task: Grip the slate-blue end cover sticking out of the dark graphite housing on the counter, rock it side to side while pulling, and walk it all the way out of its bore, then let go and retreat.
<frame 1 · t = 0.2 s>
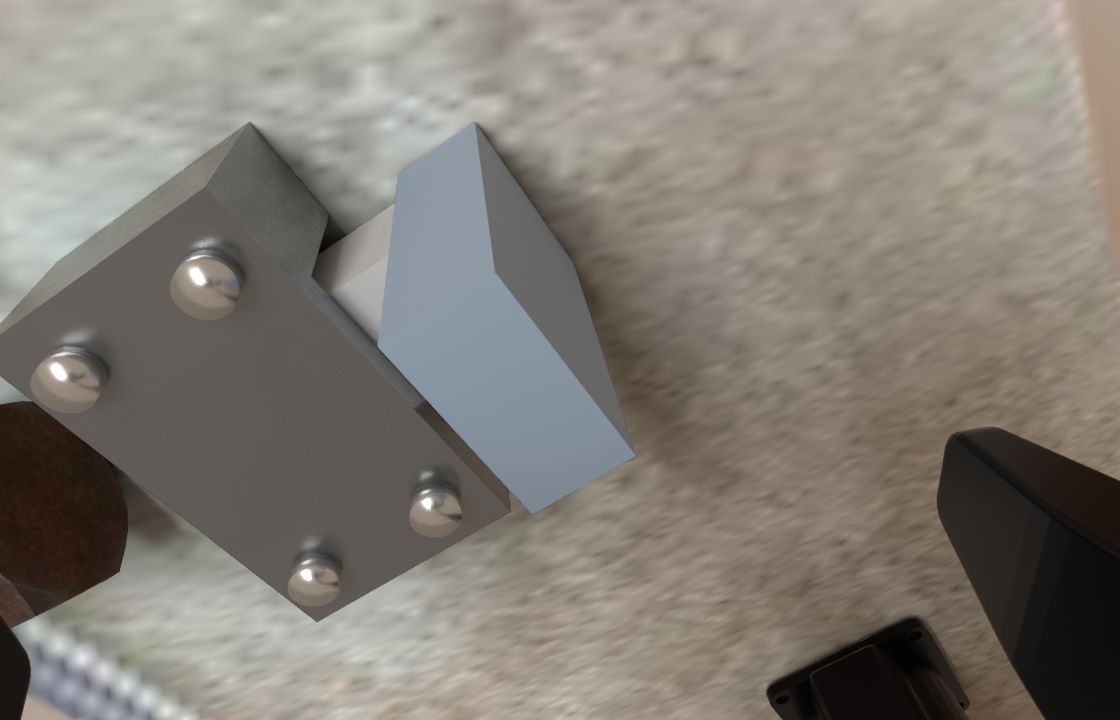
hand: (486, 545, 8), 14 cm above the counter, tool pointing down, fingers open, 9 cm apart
housing: (297, 344, 22), on the counter
cover: (368, 377, 18), point 4 cm above the counter, slide at 0.0 cm
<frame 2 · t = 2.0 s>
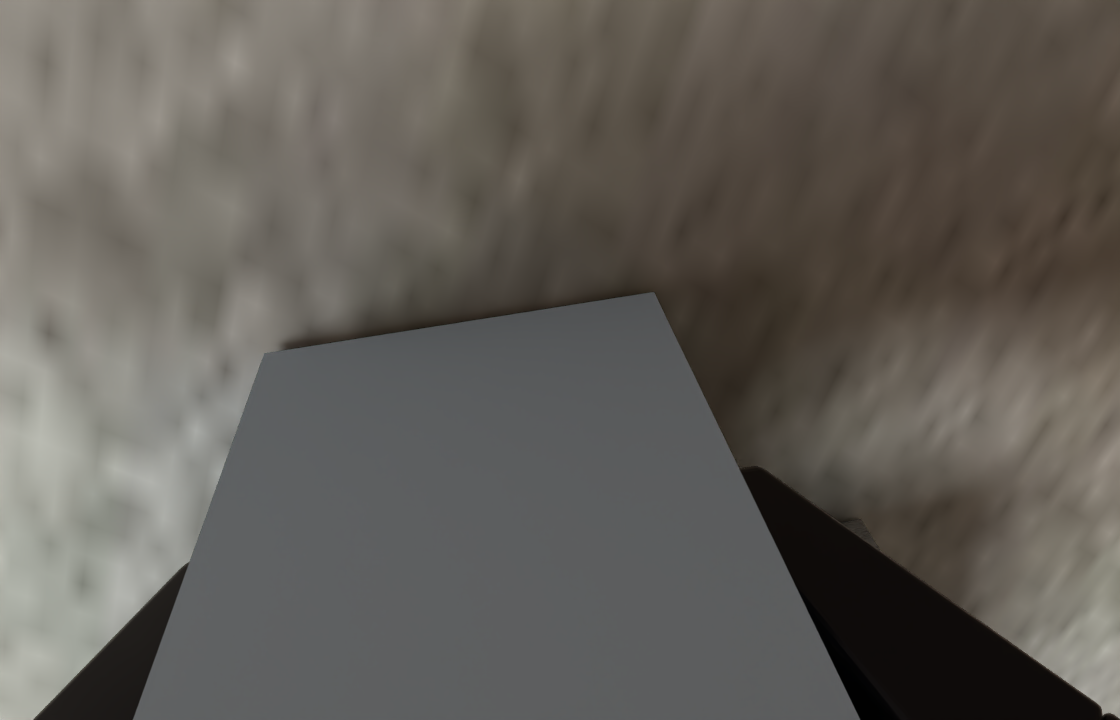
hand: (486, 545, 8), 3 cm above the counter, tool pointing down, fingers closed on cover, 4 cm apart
housing: (540, 710, 13), on the counter
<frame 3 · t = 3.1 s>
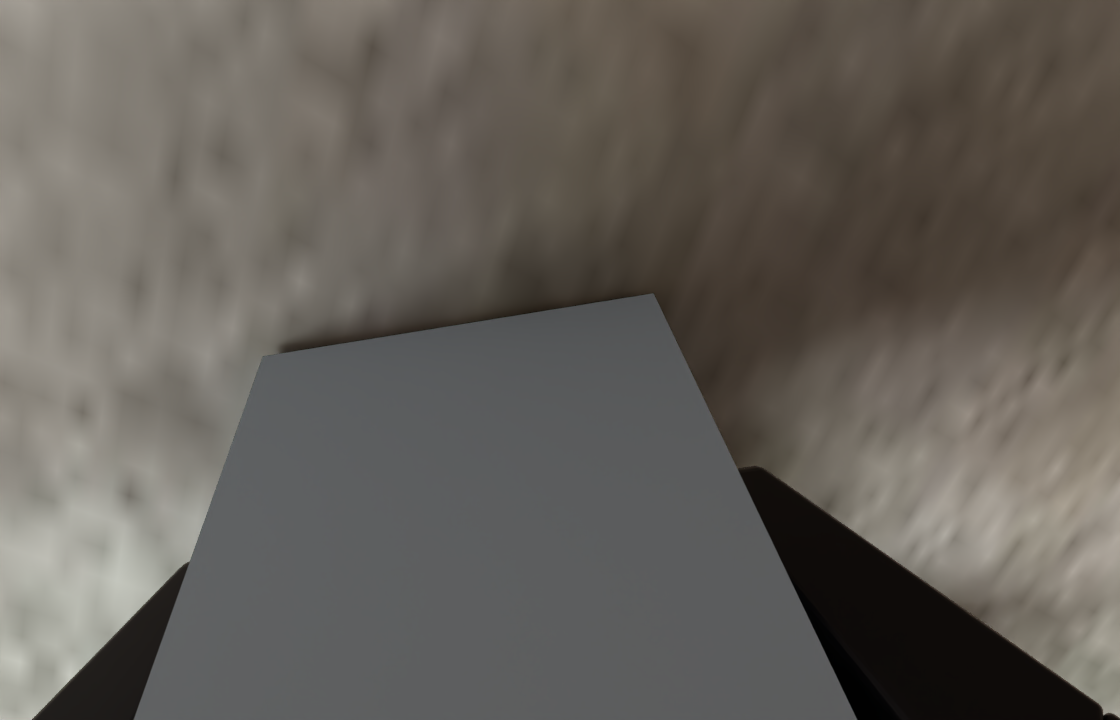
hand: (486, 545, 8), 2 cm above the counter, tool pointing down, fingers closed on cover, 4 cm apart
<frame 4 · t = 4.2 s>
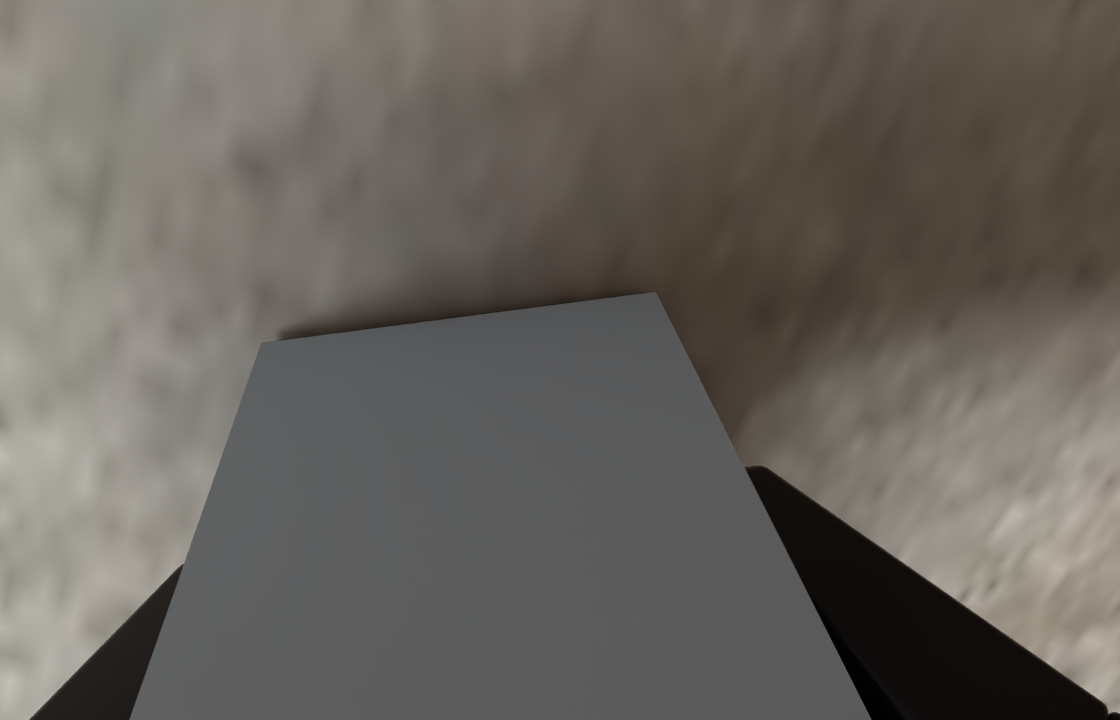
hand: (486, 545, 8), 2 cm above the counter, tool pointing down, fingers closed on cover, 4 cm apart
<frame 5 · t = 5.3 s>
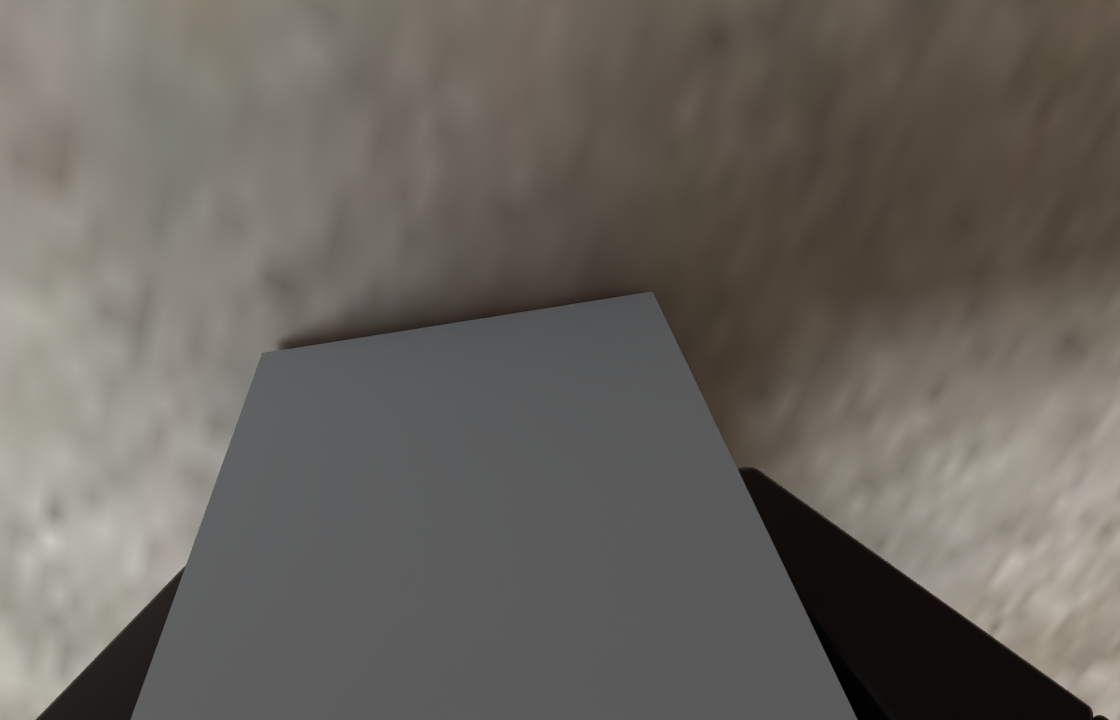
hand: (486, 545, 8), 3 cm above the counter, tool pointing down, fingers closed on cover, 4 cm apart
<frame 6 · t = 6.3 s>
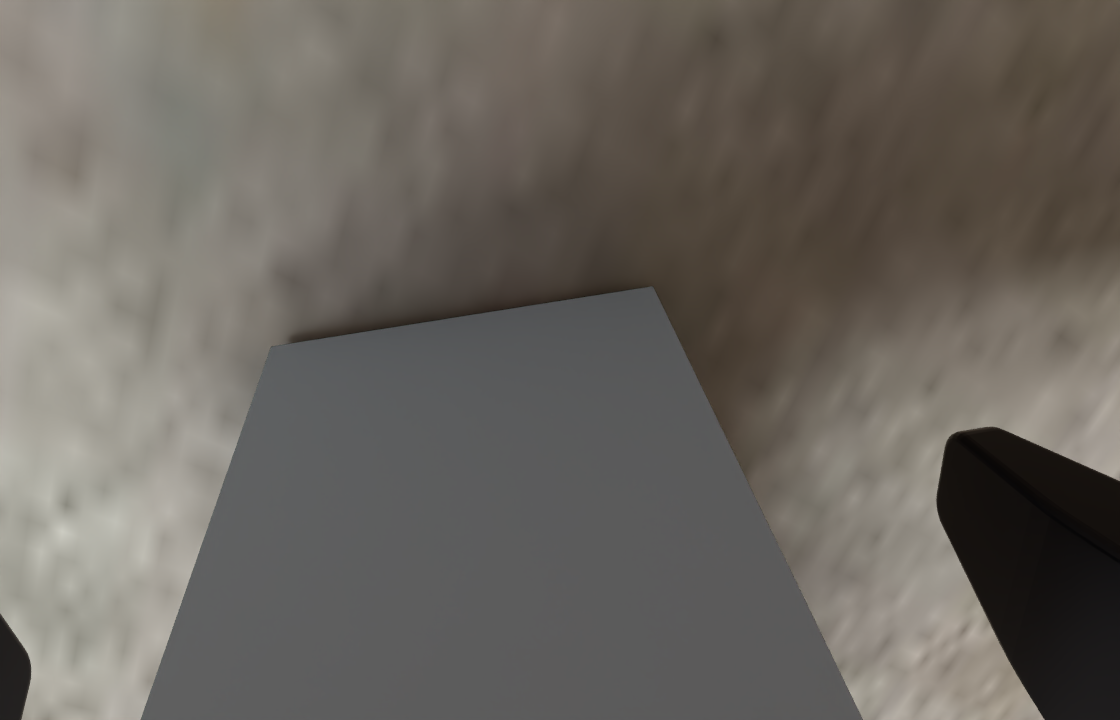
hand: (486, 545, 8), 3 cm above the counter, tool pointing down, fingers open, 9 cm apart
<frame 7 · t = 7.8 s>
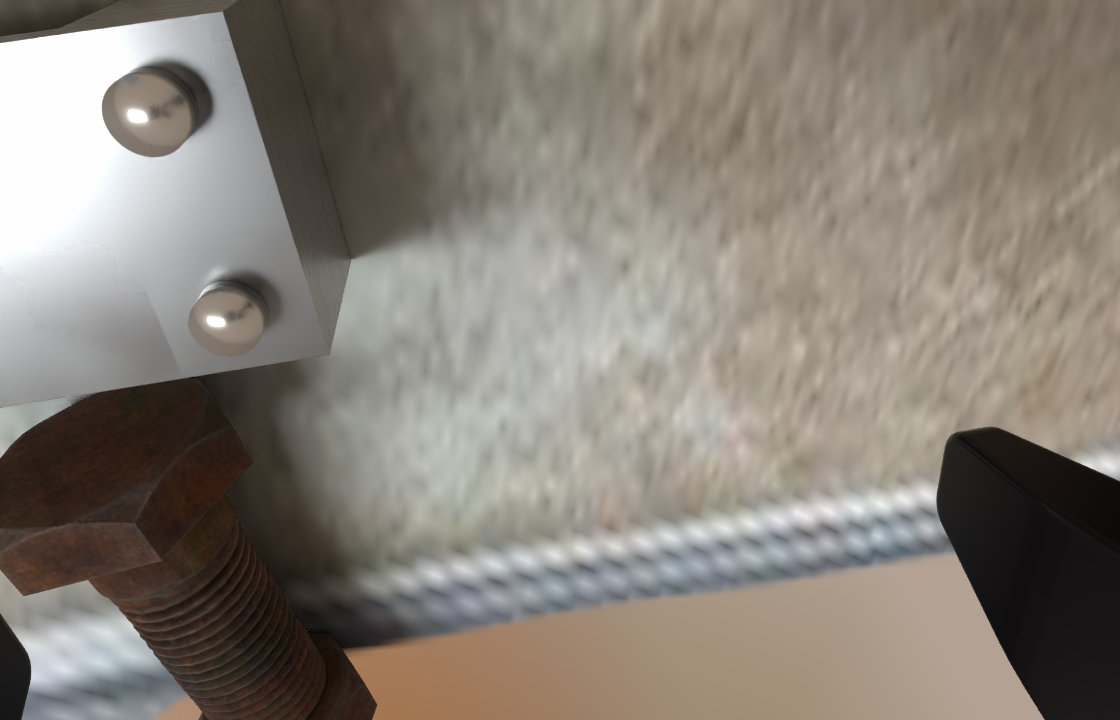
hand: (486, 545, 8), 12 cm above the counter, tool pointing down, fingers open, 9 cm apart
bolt: (256, 583, 24), on the counter
housing: (74, 167, 17), on the counter
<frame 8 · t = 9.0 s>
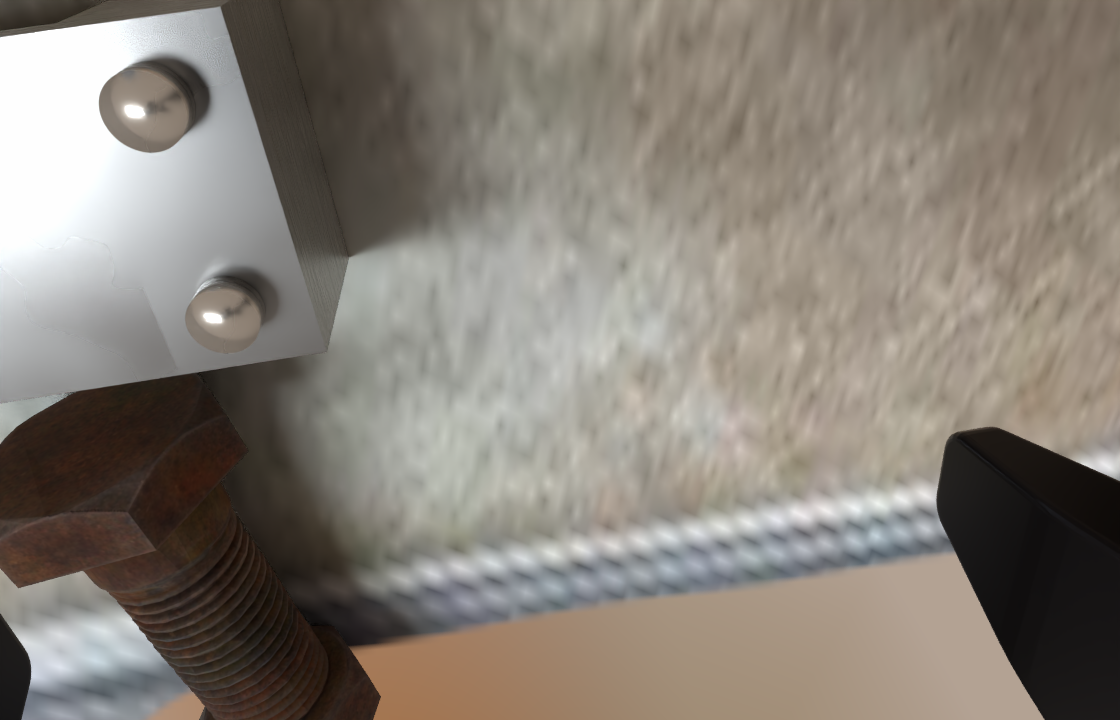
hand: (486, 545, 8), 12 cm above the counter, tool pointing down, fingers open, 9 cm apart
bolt: (257, 576, 24), on the counter
housing: (71, 163, 17), on the counter
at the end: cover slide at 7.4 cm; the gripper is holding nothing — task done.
